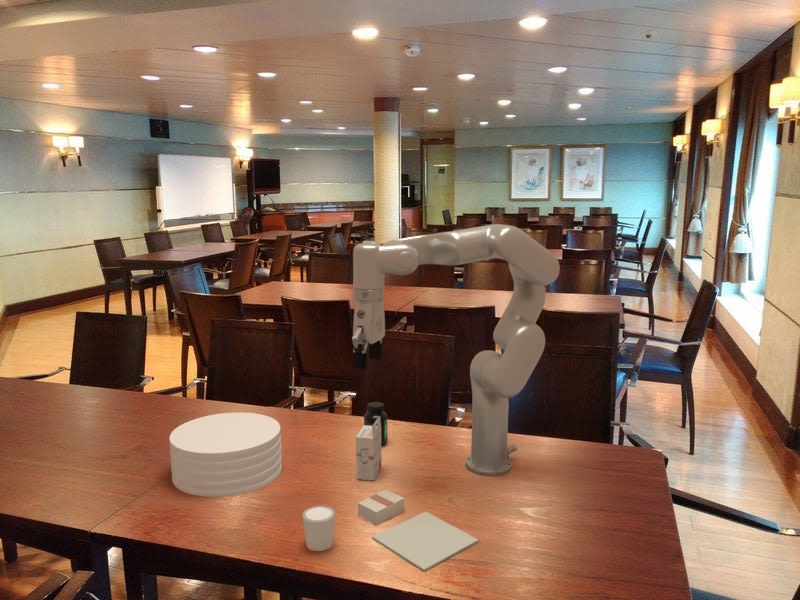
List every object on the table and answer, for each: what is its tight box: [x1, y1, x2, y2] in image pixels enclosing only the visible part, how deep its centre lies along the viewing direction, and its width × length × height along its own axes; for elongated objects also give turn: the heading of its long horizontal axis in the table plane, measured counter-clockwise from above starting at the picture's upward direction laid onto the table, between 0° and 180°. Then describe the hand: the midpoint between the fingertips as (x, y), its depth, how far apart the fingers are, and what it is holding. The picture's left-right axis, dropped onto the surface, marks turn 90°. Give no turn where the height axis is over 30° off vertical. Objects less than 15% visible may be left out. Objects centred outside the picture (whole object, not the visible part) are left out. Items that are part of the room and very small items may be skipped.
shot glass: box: [301, 505, 336, 552], centre depth 135 cm, size 7×7×7 cm
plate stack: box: [169, 411, 283, 498], centre depth 169 cm, size 28×28×12 cm
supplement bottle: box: [363, 401, 389, 448], centre depth 187 cm, size 7×7×12 cm
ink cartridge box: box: [355, 416, 382, 481], centre depth 167 cm, size 9×5×15 cm, turn 168°
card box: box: [357, 489, 405, 526], centre depth 148 cm, size 9×6×4 cm, turn 136°
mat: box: [371, 511, 479, 573], centre depth 137 cm, size 16×16×1 cm
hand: (367, 363), depth 157 cm, fingers open, 9 cm apart
